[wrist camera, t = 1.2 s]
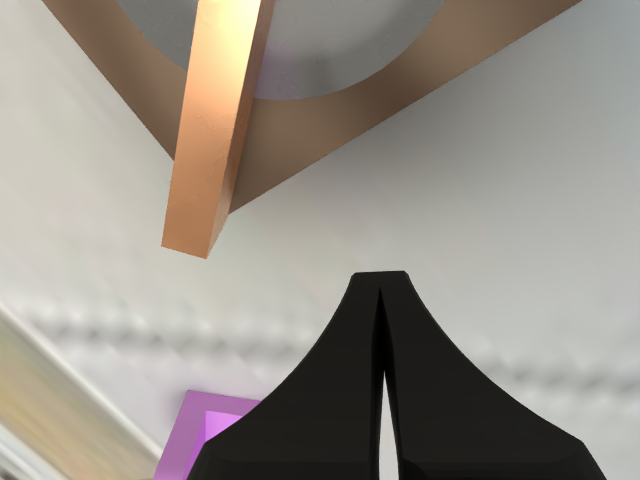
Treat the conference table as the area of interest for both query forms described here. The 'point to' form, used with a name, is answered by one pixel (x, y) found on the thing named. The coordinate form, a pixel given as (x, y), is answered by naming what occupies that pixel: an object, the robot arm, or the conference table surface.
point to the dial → (257, 80)
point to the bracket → (198, 430)
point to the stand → (305, 114)
